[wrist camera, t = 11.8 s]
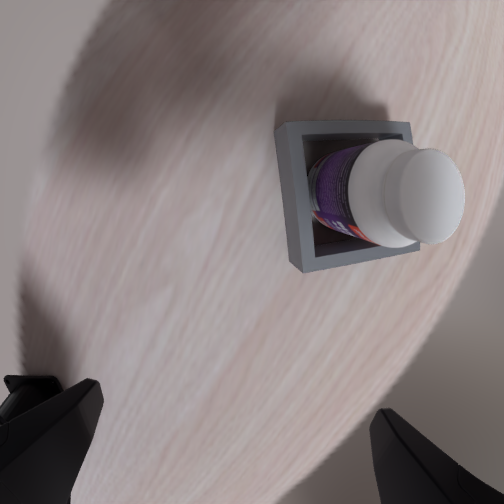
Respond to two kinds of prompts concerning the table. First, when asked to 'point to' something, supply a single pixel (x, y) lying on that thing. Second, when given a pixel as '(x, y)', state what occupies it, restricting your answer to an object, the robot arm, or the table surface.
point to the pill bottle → (388, 193)
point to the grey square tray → (298, 192)
